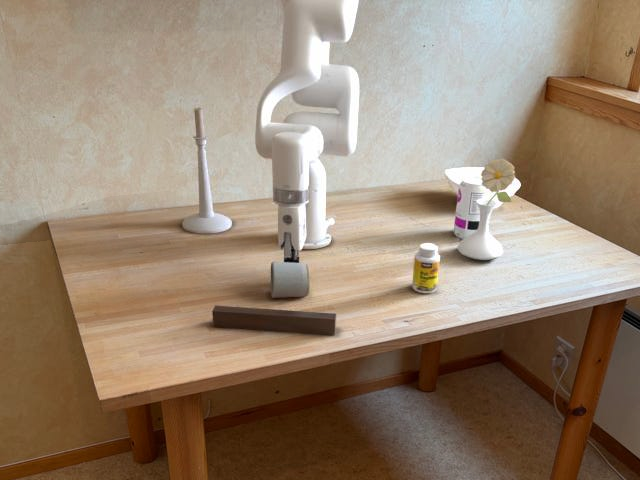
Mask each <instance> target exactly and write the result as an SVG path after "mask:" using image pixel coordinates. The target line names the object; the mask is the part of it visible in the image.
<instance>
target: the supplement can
mask: <svg viewBox="0 0 640 480" xmlns="http://www.w3.org/2000/svg"><path fill="white" fill-rule="evenodd" d="M482 182H483V181H482V180H481V177H464V178H463V179H462V181H461V183H460V184H459V190H458V196H457V199H456V207H455V217H454V225H453V234H455V236H456V237H457V238H458V239H461V240H463V239H464V238H466V237H468V236H469V235H471V234H473V233H474V232H476V231H477V229H478V227H479V221H480V210H479V206H478V204H477V202H476V201H477V200H479V199H490V197H489V196H488V195H487V194H485V193H484V192H482V191H481V189H483V190H484V191H486V192H487V193H488V194H489V195H490V192H491V191H489V189H486V188H485V187H483V185H482V184H481V183H482ZM479 186H480V188H481V189H480V188H479Z"/></svg>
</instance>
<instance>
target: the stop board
mask: <svg viewBox="0 0 640 480" xmlns="http://www.w3.org/2000/svg"><path fill="white" fill-rule="evenodd" d="M211 313H212V314H211V315H212V316H211V317H212V326H213V328H226V329H227V328H228V329H238V330H239V329H241V330H255V331H269V332H270V331H271V332H281V333H282V332H285V333H299V334H313V335H328V336H335V334H336V330H337V313H334V312H333V313H332V312H318V311H305V310H303V311H302V310H291V309H290V310H287V309H275V308H259V307H258V308H257V307H245V306H231V305H230V306H229V305H218V304H217V305H214V307H213V308H212V312H211Z"/></svg>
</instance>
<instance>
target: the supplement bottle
mask: <svg viewBox="0 0 640 480" xmlns="http://www.w3.org/2000/svg"><path fill="white" fill-rule="evenodd" d="M438 248H439V247H438V246H437V245H436V244H434V243H430V242H424V243H421V244H420V245H419V248H418V252H416V253H415V254H414V260H413V261H414V262H413V272H412V274H413V275H412V280H411V281H412V282H411V287H412V289H413V290H414V291H415V292H417V293H421V294H430V293H433V292H435V291H437V288H438V279H439V270H440V262H441V255H439V253H438Z"/></svg>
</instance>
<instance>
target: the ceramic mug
mask: <svg viewBox="0 0 640 480" xmlns="http://www.w3.org/2000/svg"><path fill="white" fill-rule="evenodd" d="M310 293H311V269H310V266H309V265H308V264H307V263H304V262H299V263H289V262H284V261H272V262H271V263H270V294H271V298H272V299H276V298H277V299H280V298H283V299H284V298H300V297H307V296H308V295H309V294H310Z"/></svg>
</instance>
